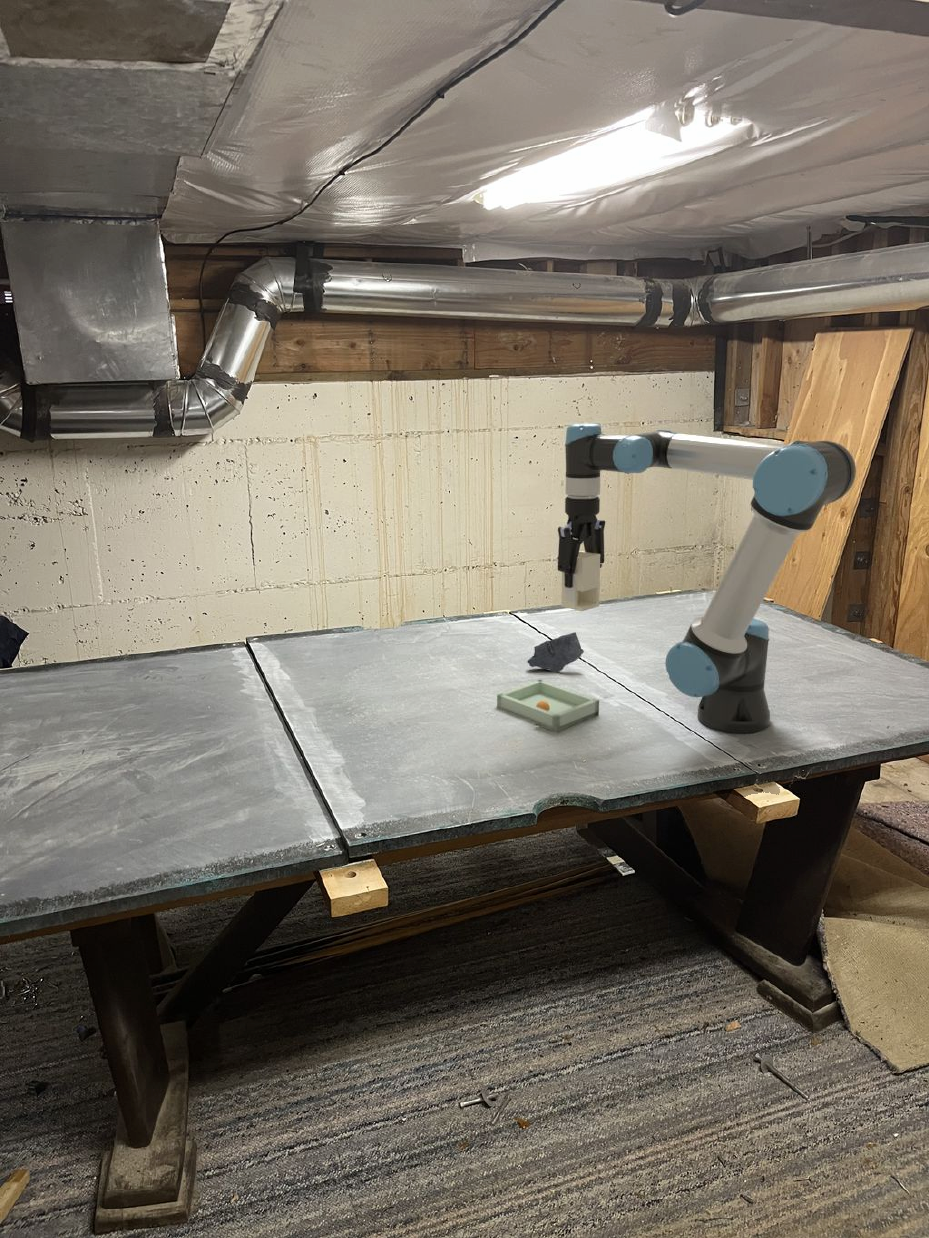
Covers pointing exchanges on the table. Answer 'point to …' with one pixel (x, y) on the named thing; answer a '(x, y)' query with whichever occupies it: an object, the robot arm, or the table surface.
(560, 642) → the stone
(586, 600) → the hollow box
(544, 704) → the ball
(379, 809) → the table surface
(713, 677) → the robot arm
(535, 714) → the tray
